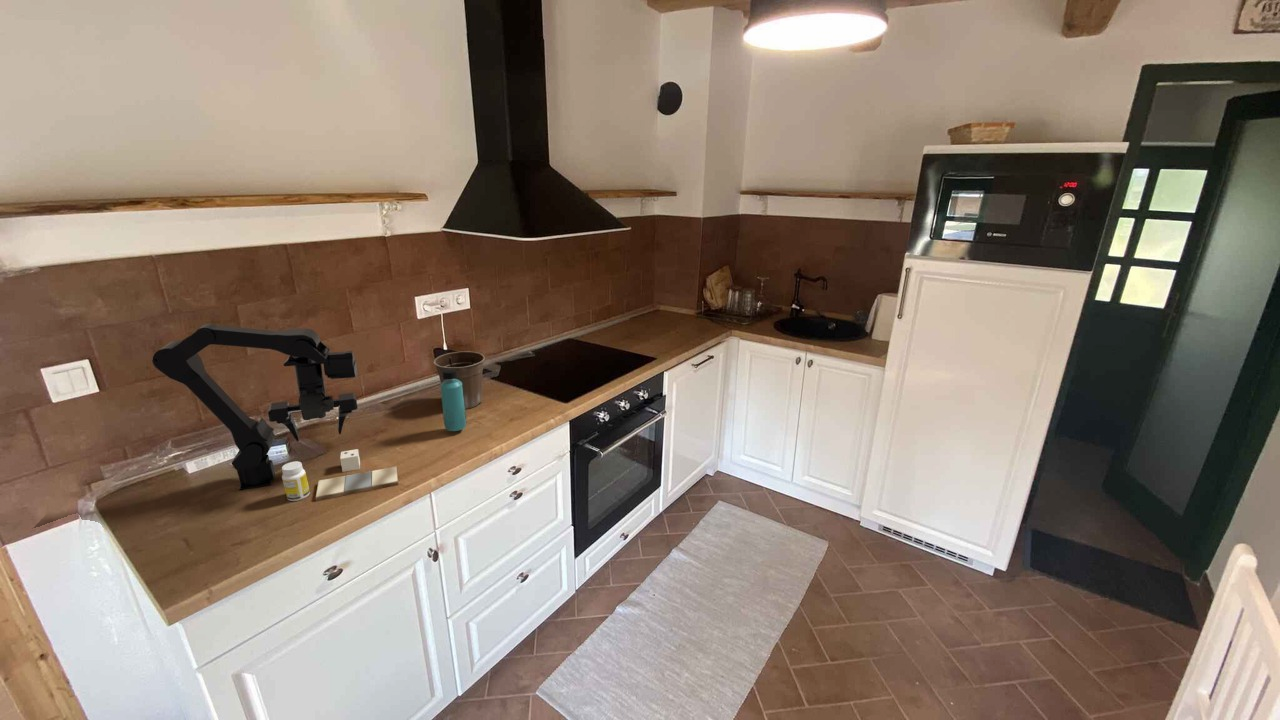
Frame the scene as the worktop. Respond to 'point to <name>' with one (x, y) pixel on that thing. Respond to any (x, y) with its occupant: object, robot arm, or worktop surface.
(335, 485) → the board
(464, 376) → the plant pot
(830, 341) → the worktop surface
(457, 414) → the beverage bottle
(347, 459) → the die
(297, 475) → the supplement bottle
